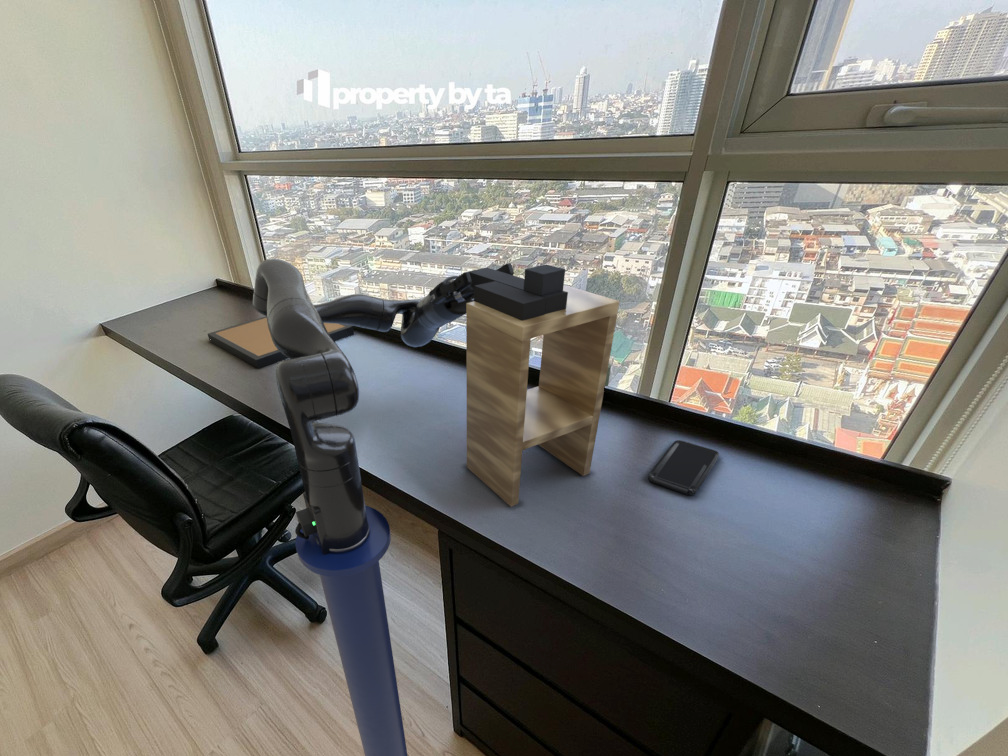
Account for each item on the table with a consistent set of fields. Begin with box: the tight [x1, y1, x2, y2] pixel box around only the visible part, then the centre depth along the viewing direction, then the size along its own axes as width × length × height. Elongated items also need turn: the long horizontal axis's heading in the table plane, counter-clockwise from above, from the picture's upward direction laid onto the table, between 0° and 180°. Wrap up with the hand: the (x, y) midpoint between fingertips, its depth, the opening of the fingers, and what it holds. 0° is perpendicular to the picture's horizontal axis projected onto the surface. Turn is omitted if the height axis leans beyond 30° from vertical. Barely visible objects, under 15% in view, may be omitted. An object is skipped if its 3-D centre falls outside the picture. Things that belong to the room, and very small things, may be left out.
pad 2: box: [474, 281, 546, 321], centre depth 72 cm, size 4×12×2 cm, turn 27°
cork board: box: [207, 315, 355, 370], centre depth 161 cm, size 36×3×35 cm
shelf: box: [465, 284, 620, 507], centre depth 82 cm, size 18×14×32 cm
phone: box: [648, 439, 720, 496], centre depth 88 cm, size 8×1×15 cm
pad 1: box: [467, 264, 568, 314], centre depth 75 cm, size 4×20×5 cm, turn 27°
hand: (490, 273), depth 80 cm, fingers open, 8 cm apart
